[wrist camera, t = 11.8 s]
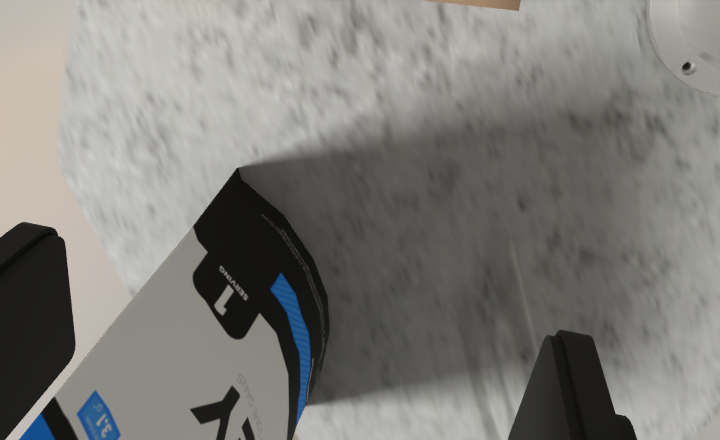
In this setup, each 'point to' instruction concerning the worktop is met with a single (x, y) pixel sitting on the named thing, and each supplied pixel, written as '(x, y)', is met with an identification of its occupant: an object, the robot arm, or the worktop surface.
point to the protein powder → (206, 339)
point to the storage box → (487, 3)
